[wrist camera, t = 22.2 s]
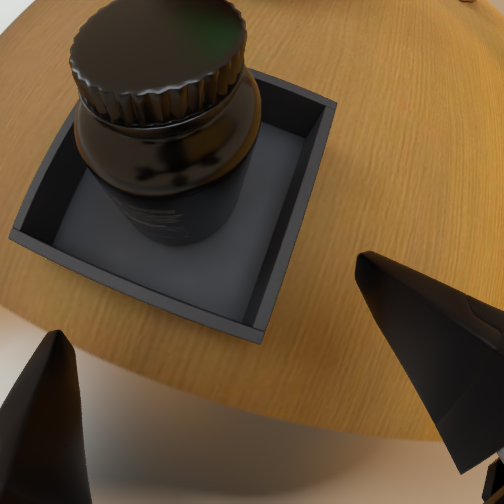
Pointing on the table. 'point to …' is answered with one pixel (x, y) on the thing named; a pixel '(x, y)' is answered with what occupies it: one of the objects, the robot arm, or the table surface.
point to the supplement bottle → (167, 112)
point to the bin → (199, 253)
